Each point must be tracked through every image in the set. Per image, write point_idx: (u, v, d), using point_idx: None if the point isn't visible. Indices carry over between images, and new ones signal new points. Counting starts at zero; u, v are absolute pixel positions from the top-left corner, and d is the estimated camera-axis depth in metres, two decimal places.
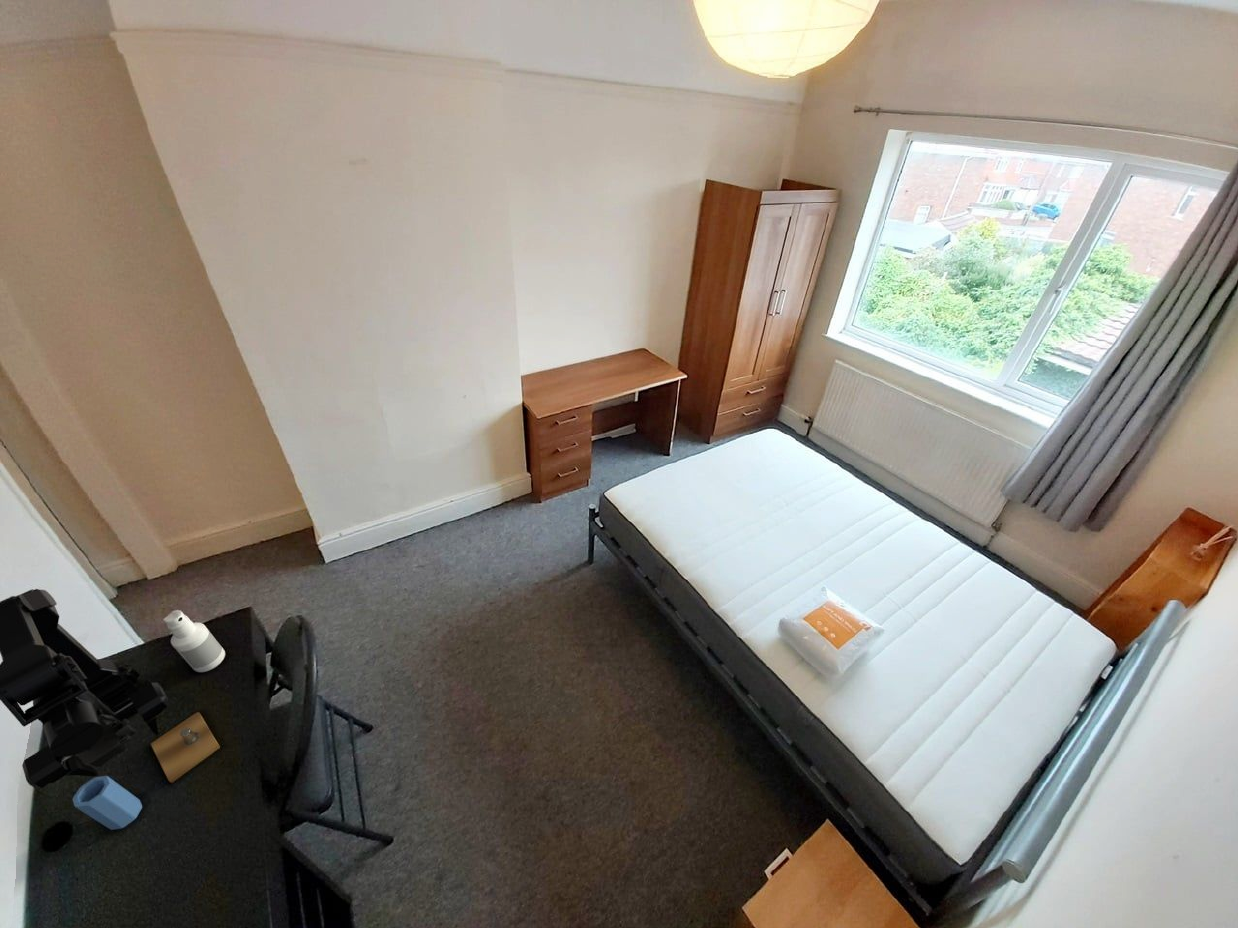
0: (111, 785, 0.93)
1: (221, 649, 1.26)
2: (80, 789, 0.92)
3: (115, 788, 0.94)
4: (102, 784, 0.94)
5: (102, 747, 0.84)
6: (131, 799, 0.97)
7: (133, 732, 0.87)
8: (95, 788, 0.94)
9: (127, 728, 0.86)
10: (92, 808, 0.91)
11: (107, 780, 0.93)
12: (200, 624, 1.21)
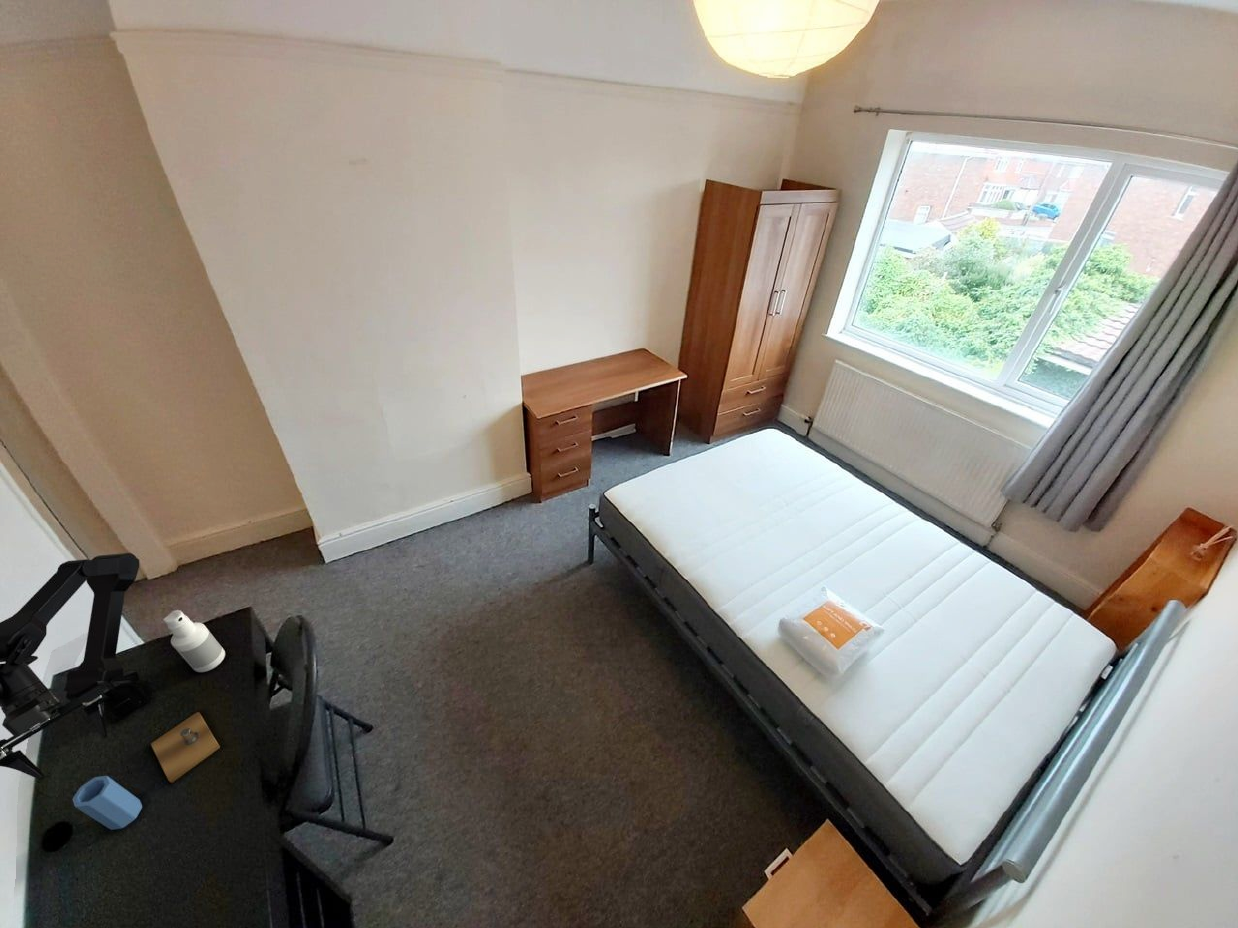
0: (111, 785, 0.93)
1: (221, 649, 1.26)
2: (80, 789, 0.92)
3: (115, 788, 0.94)
4: (102, 784, 0.94)
5: (23, 711, 0.88)
6: (131, 799, 0.97)
7: (55, 700, 0.90)
8: (95, 788, 0.94)
9: (48, 693, 0.90)
10: (92, 808, 0.91)
11: (107, 780, 0.93)
12: (200, 624, 1.21)
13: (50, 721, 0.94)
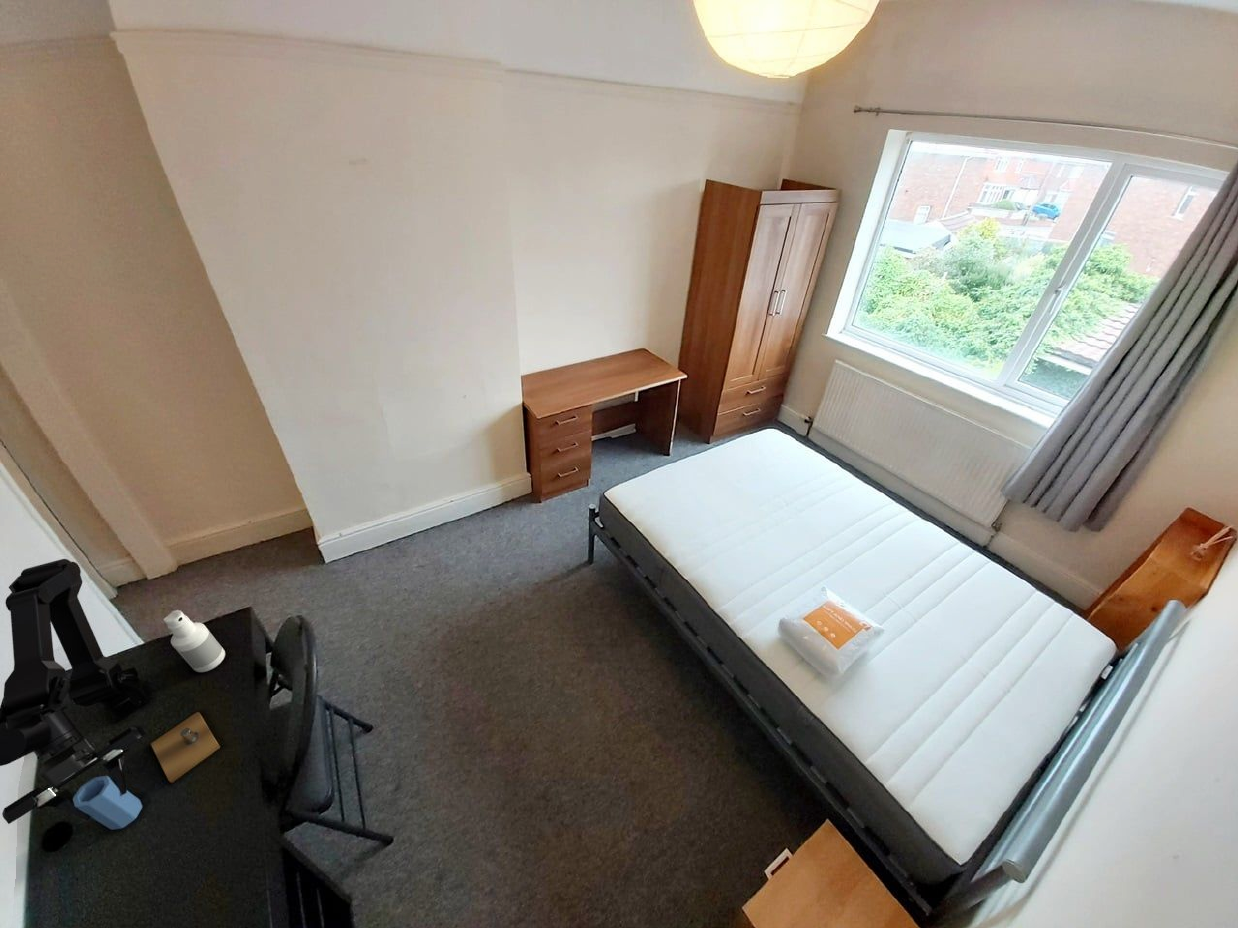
0: (111, 785, 0.93)
1: (221, 649, 1.26)
2: (80, 789, 0.92)
3: (115, 788, 0.94)
4: (102, 784, 0.94)
5: (59, 761, 0.88)
6: (131, 799, 0.97)
7: (90, 748, 0.90)
8: (95, 787, 0.94)
9: (84, 742, 0.90)
10: (92, 808, 0.91)
11: (107, 780, 0.93)
12: (200, 624, 1.21)
13: (70, 777, 0.92)
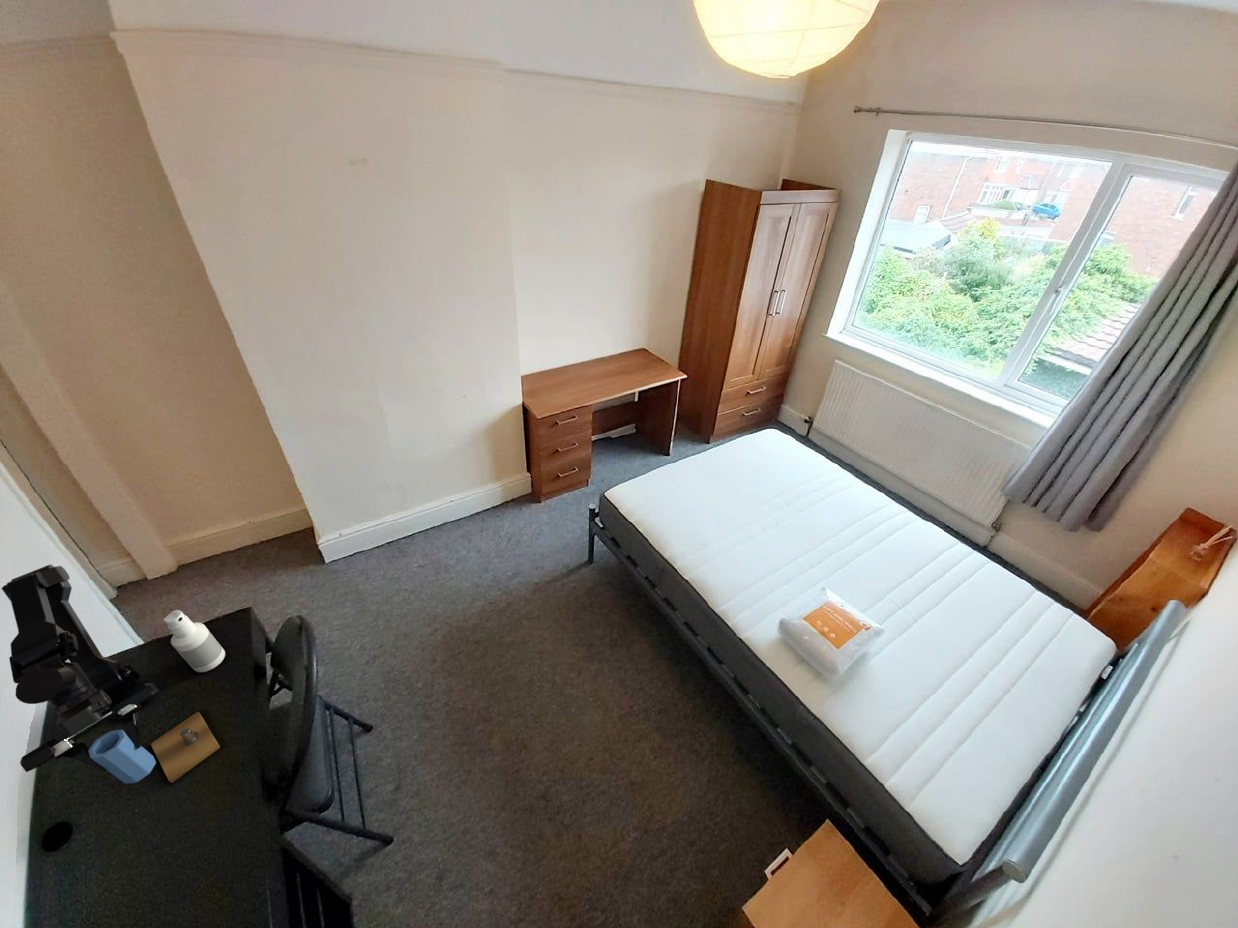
0: (126, 739, 0.95)
1: (221, 649, 1.26)
2: (96, 742, 0.93)
3: (130, 742, 0.95)
4: (117, 738, 0.96)
5: (75, 712, 0.89)
6: (145, 754, 0.98)
7: (106, 701, 0.91)
8: (110, 741, 0.95)
9: (100, 694, 0.91)
10: (107, 760, 0.92)
11: (122, 734, 0.95)
12: (200, 624, 1.21)
13: (86, 730, 0.93)
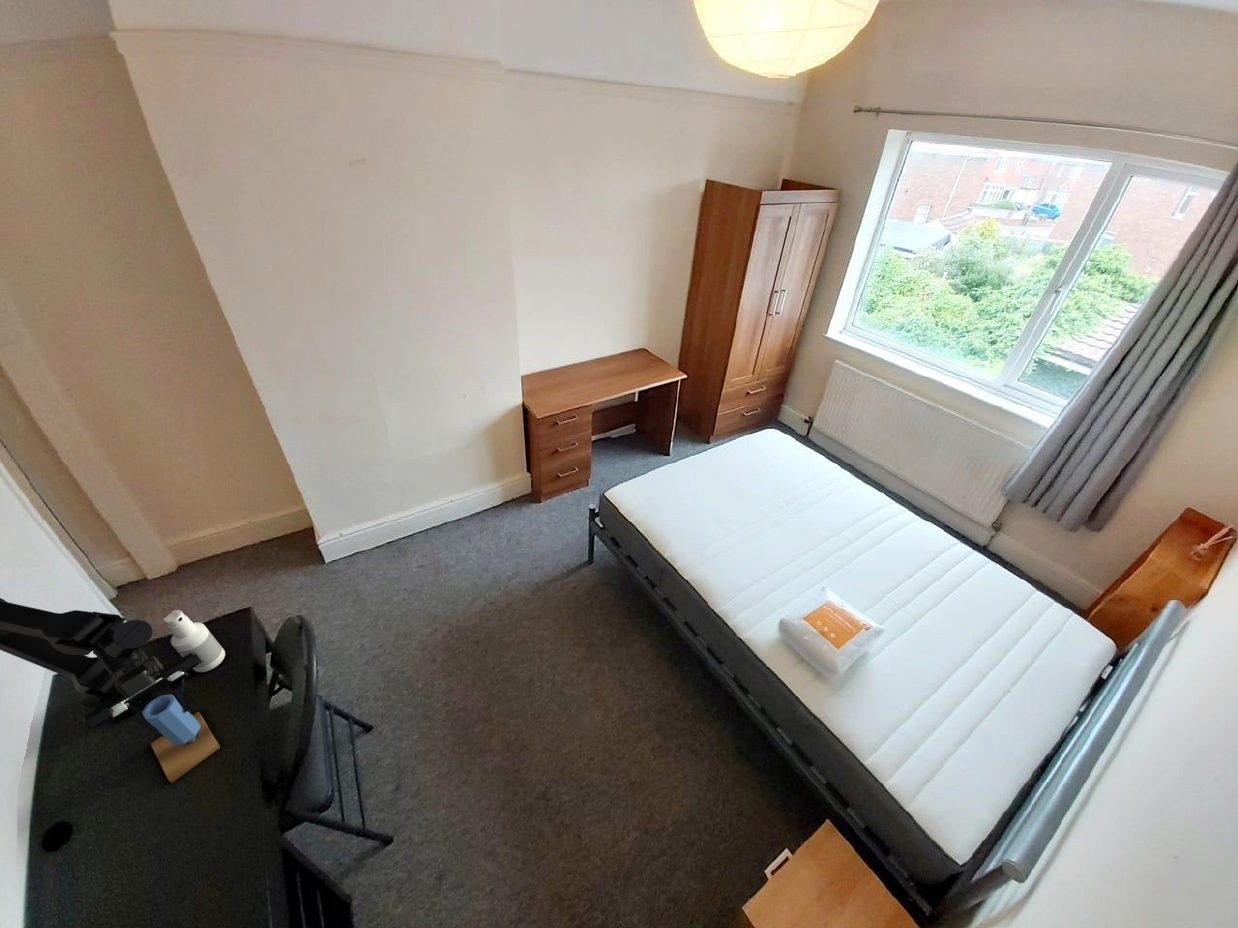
0: (176, 702, 1.02)
1: (221, 649, 1.26)
2: (148, 705, 1.01)
3: (179, 705, 1.03)
4: (167, 702, 1.04)
5: (132, 675, 0.97)
6: (191, 718, 1.06)
7: (159, 666, 0.99)
8: (160, 705, 1.03)
9: (153, 660, 0.99)
10: (160, 721, 1.00)
11: (172, 698, 1.03)
12: (200, 624, 1.21)
13: (139, 694, 1.01)
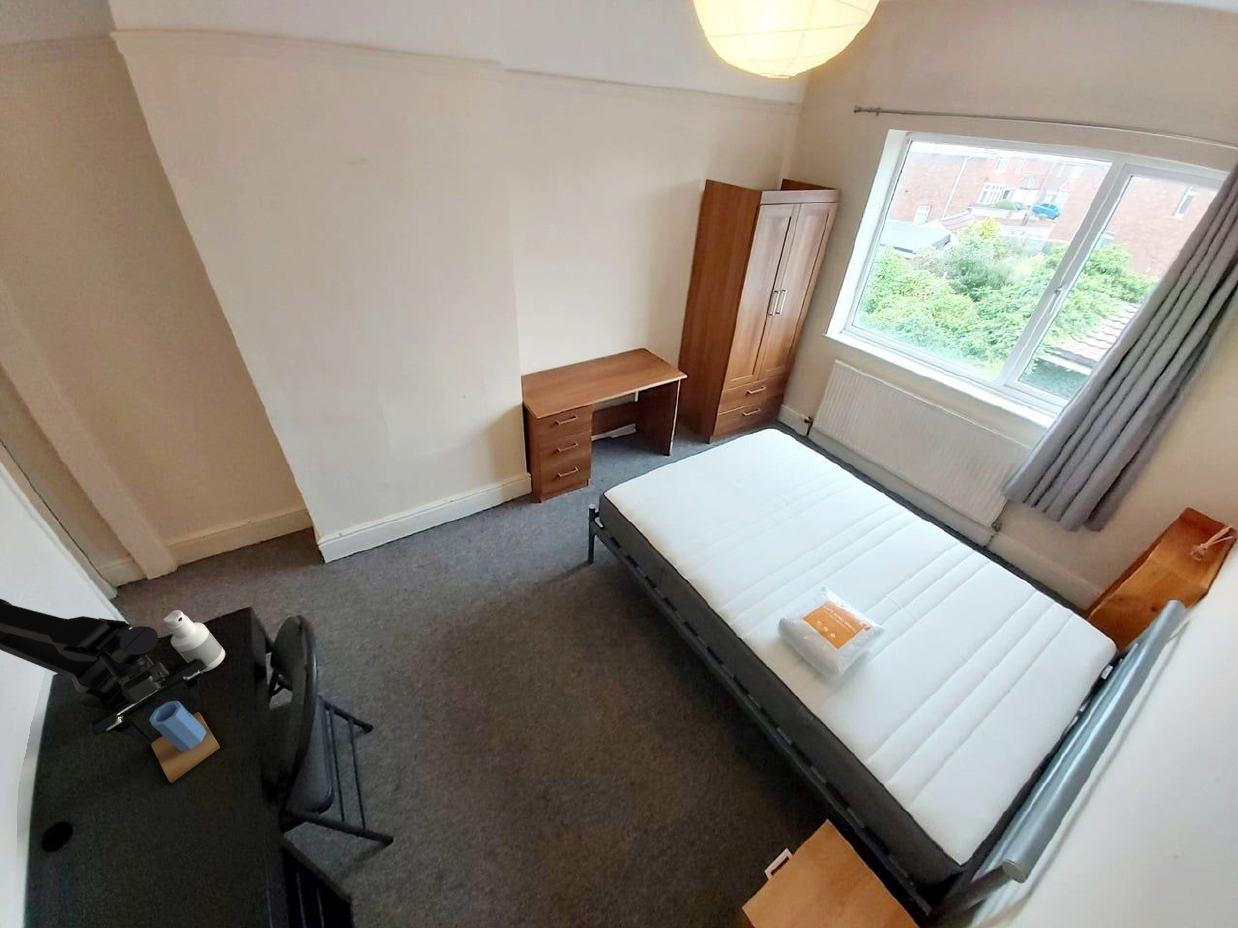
0: (182, 708, 1.04)
1: (221, 649, 1.26)
2: (155, 711, 1.03)
3: (185, 712, 1.05)
4: (173, 709, 1.05)
5: (138, 681, 0.98)
6: (197, 724, 1.08)
7: (164, 672, 1.01)
8: (167, 711, 1.05)
9: (159, 666, 1.00)
10: (167, 727, 1.02)
11: (178, 704, 1.04)
12: (200, 624, 1.21)
13: (156, 693, 1.04)
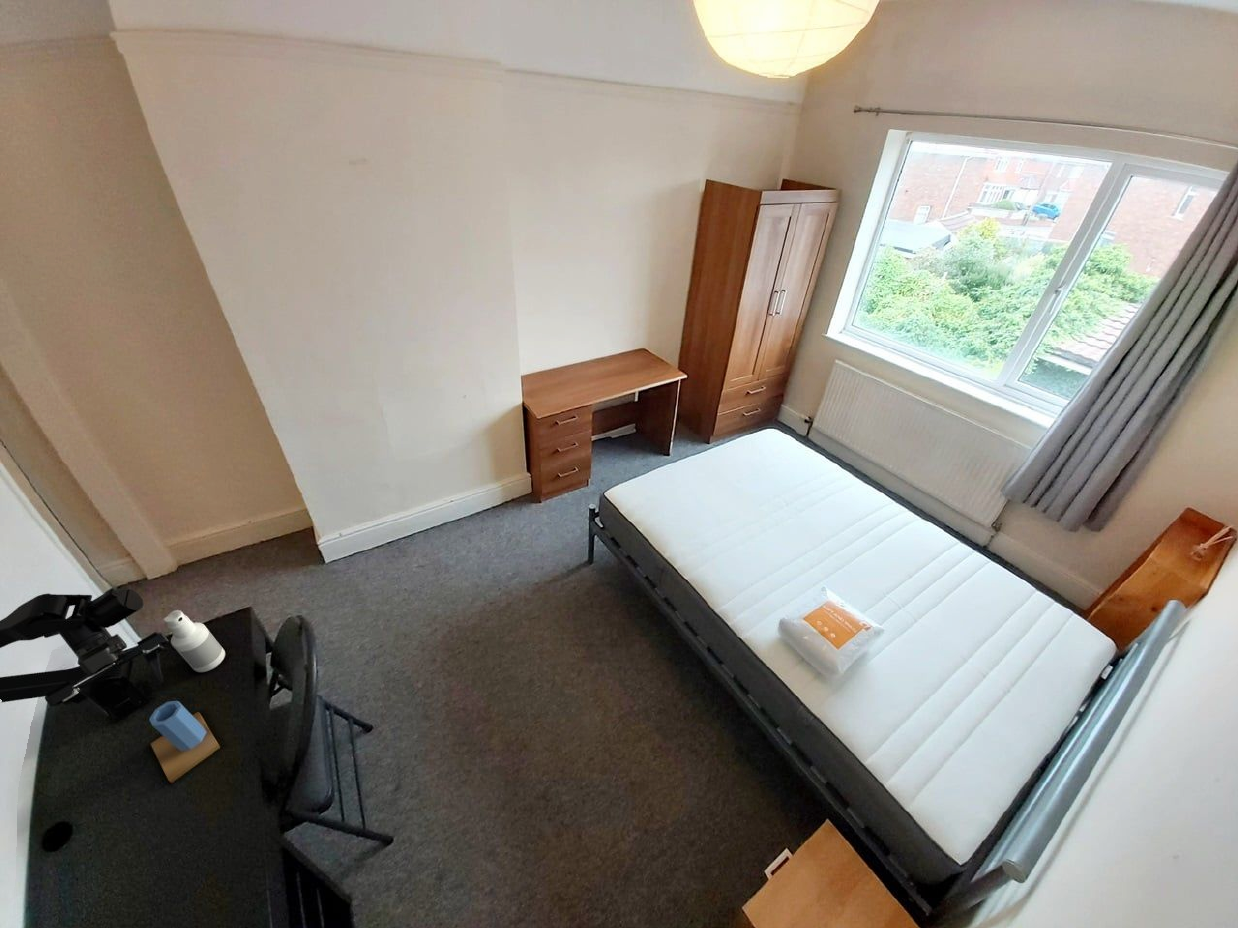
0: (182, 708, 1.04)
1: (221, 649, 1.26)
2: (155, 711, 1.03)
3: (185, 712, 1.05)
4: (173, 709, 1.05)
5: (95, 653, 0.98)
6: (197, 724, 1.08)
7: (122, 644, 1.01)
8: (167, 711, 1.05)
9: (116, 638, 1.01)
10: (167, 727, 1.02)
11: (178, 704, 1.04)
12: (200, 624, 1.21)
13: (115, 666, 1.04)
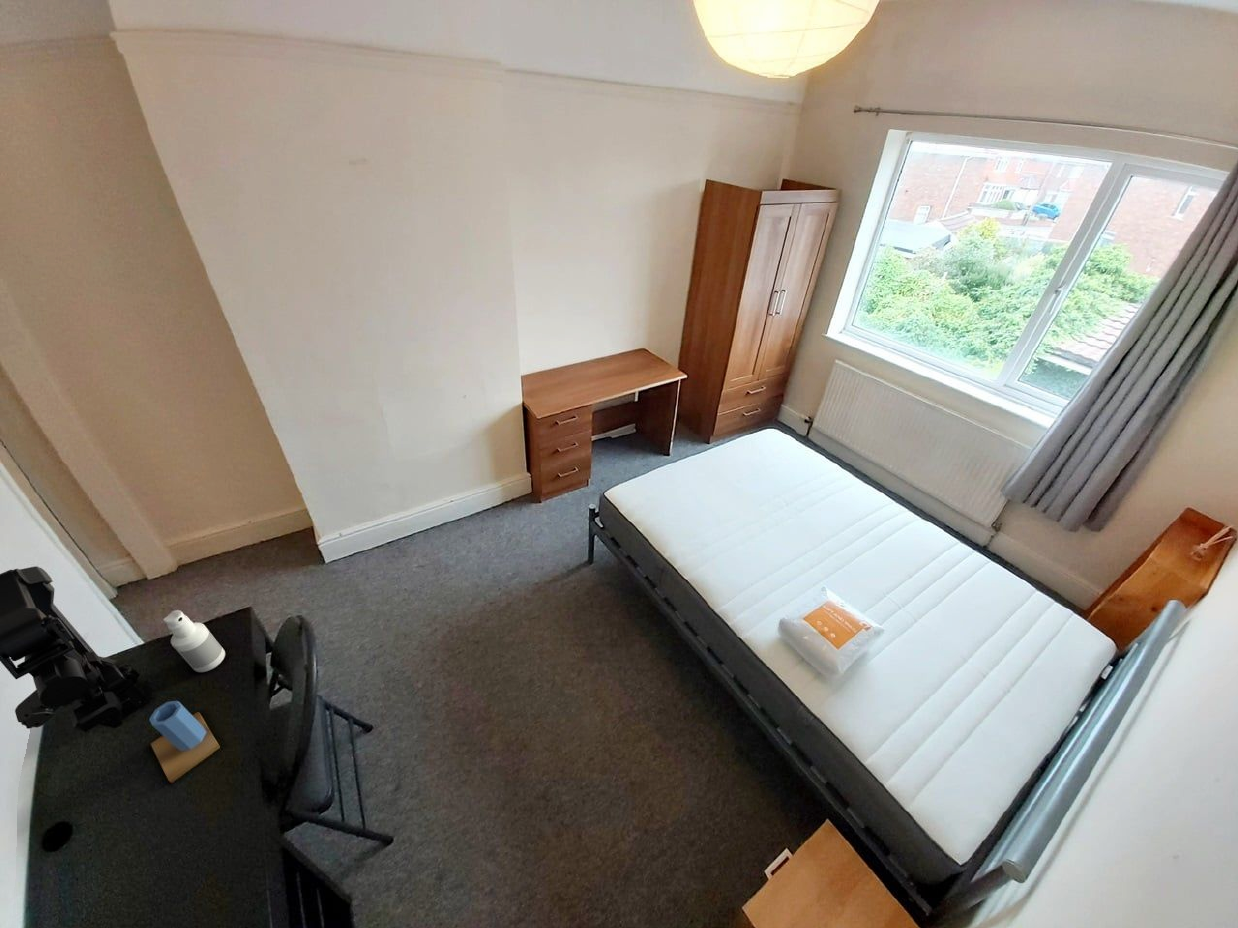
0: (182, 708, 1.04)
1: (221, 649, 1.26)
2: (155, 711, 1.03)
3: (185, 712, 1.05)
4: (173, 709, 1.05)
5: (23, 711, 0.90)
6: (197, 724, 1.08)
7: None
8: (167, 711, 1.05)
9: (25, 721, 0.88)
10: (167, 727, 1.02)
11: (178, 704, 1.04)
12: (200, 624, 1.21)
13: None
